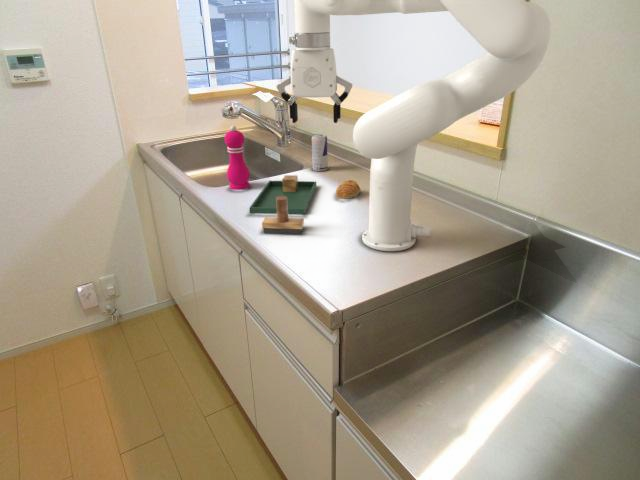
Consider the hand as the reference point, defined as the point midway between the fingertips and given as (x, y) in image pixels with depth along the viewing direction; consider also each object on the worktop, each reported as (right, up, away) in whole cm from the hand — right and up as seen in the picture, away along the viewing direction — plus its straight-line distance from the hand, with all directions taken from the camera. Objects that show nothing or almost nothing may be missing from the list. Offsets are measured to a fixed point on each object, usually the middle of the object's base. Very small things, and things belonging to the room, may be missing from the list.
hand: (315, 121), depth 106 cm
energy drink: (+1, -3, +55) cm, 55 cm away
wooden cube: (-8, -12, +34) cm, 37 cm away
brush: (-8, -26, +8) cm, 28 cm away
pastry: (+10, -14, +30) cm, 35 cm away
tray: (-9, -16, +27) cm, 33 cm away
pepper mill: (-25, -11, +39) cm, 47 cm away
